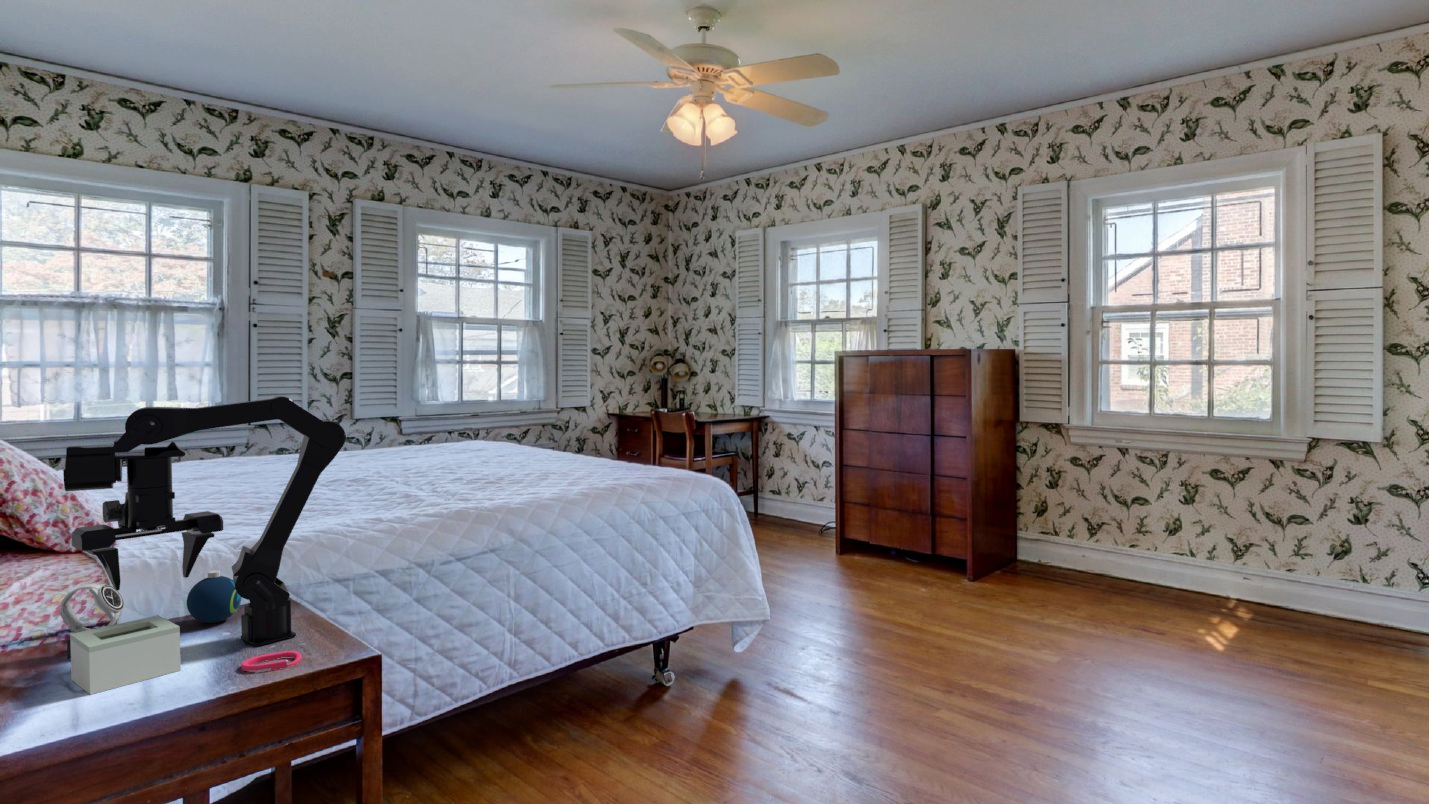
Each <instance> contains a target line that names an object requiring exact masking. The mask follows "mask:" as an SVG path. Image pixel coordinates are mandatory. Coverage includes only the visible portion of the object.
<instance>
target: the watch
mask: <svg viewBox="0 0 1429 804" xmlns="http://www.w3.org/2000/svg"><path fill="white" fill-rule="evenodd" d="M81 590H88V591H89V593H91V595H92V596H93V600H94V603H95V604H96V606H97V607H98V609H100V610H101V611H102V612H104V613H105V614H107V616H108V617H109V619H111V620H110V622H109V623H108V624H107V626H111V625H115V624H116V623H117V622H118V621H119V619H120V617H121V616H122V612H123V609H124V607H125V604H124V602H125V601H124V599H123V596H122V595H121V594H120V592H119V590H117V591H116V590H115V589H114V587H113V585H112V586H111V585H109V584H103V583H97V582H96V583H88V584H84V585H82V586H79V587H77V588H75V589H73V590H72V591H70V592H69V593H67V594H66V595H65V596H64V598H63V599H62V600H61V603H60V610H59V614H60V617H61V619H62V621H63V623H64V624H65V626H66V627H67V628H68V629H69V630H70V631H71V632H72V633H78V632H83V631H87V630H92V629H97V628H98V627H90V628H87V627H85V626H83V624H84V623H83V622H81V620H80V619H79V618H78V615H76V613H75V610H74V609H73V608H72V604H71V601H72V600H71V599H72V598H73V596H74V595H75V594H76V593H77V592H78V591H81ZM66 651H67V652H66V653H67V660H71V643H70V638H68V639H66Z"/></svg>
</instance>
